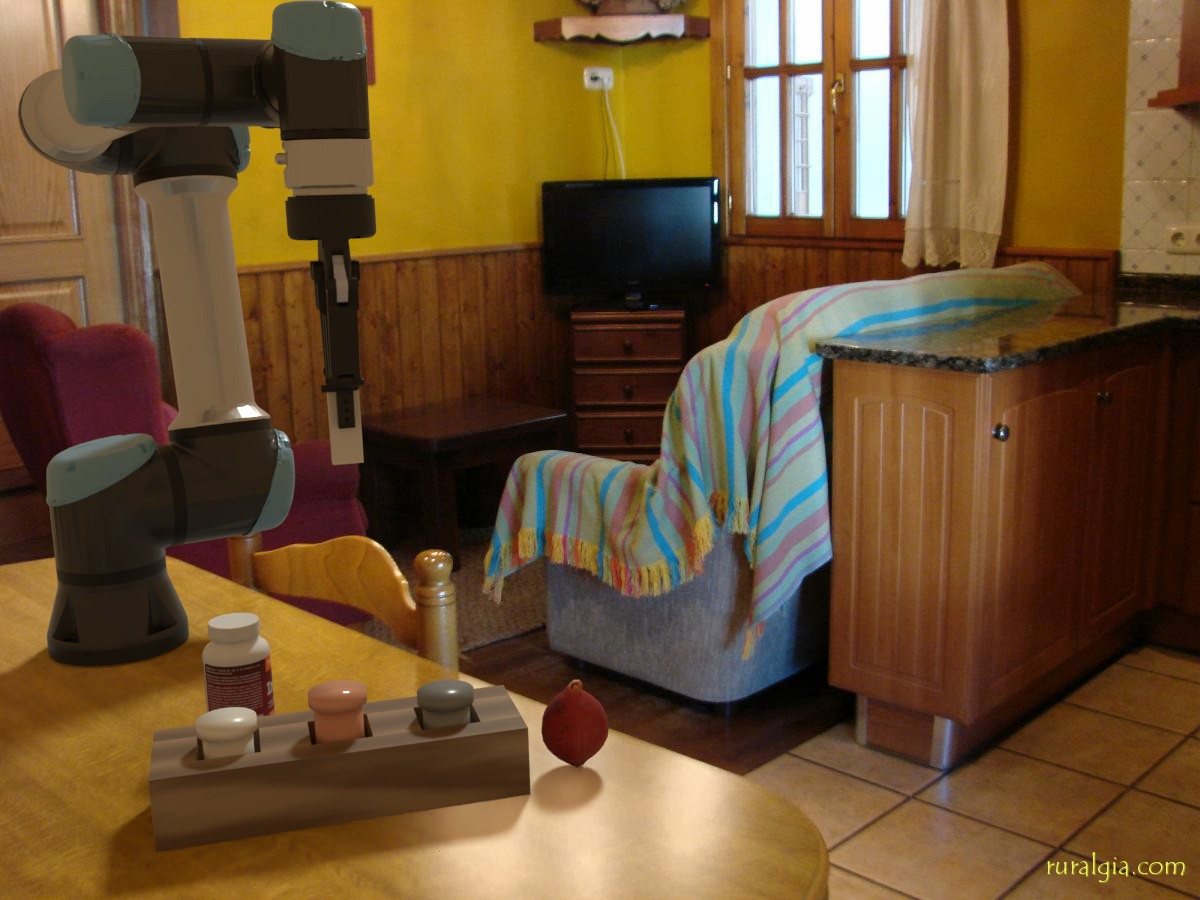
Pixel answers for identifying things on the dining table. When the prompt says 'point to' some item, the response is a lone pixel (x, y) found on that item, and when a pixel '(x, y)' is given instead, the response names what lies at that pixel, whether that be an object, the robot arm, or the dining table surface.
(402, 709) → the socket block
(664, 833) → the dining table surface
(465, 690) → the plug blue-grey
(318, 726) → the plug terracotta
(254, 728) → the plug white
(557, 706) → the onion
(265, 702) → the pill bottle
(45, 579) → the dining table surface
